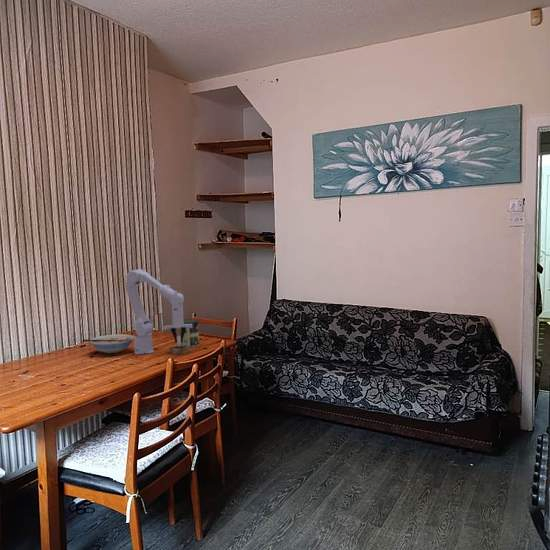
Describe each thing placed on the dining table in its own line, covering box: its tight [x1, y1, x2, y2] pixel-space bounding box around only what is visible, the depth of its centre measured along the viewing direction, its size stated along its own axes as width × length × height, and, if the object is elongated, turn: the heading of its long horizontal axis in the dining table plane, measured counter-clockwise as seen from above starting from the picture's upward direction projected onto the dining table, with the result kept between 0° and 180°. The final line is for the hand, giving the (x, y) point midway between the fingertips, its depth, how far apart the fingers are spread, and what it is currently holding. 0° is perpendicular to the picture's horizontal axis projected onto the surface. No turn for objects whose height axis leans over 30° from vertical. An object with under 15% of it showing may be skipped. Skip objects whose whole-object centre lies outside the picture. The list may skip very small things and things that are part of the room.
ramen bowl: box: [81, 333, 135, 355], centre depth 262 cm, size 25×23×8 cm
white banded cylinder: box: [176, 332, 181, 347], centre depth 256 cm, size 2×2×7 cm
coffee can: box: [179, 318, 200, 349], centre depth 272 cm, size 10×10×14 cm
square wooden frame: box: [168, 345, 190, 356], centre depth 257 cm, size 8×8×3 cm
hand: (178, 342), depth 257 cm, fingers closed on white banded cylinder, 2 cm apart
